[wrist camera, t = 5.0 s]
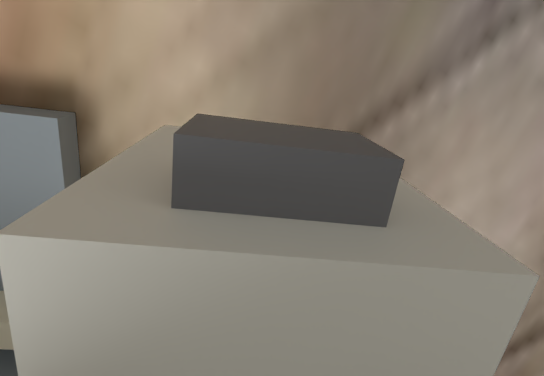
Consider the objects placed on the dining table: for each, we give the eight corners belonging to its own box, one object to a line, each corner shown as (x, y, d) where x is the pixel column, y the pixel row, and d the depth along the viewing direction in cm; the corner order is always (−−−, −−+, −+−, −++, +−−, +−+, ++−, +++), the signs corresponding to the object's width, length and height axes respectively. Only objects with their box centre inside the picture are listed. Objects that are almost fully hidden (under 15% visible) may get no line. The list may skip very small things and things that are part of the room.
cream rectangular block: (363, 115, 10) (576, 198, 4) (298, 414, 14) (340, 703, 8) (165, 90, 10) (-22, 134, 3) (158, 410, 14) (75, 721, 7)
